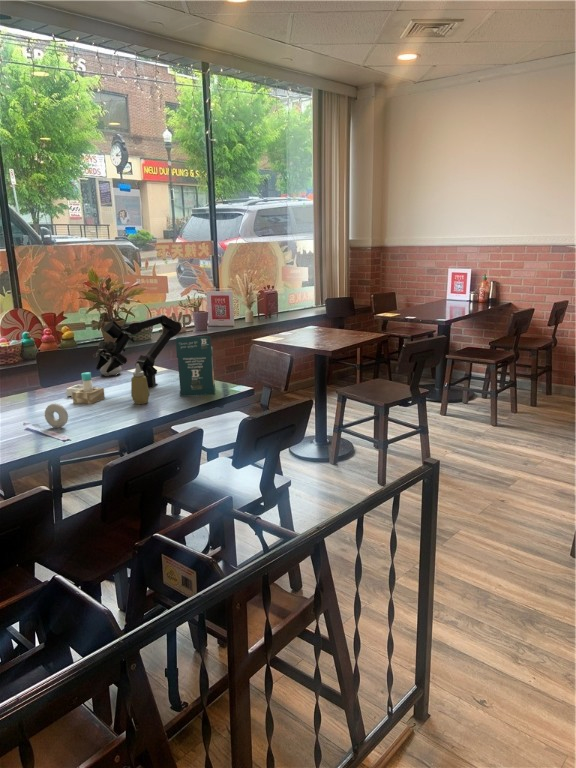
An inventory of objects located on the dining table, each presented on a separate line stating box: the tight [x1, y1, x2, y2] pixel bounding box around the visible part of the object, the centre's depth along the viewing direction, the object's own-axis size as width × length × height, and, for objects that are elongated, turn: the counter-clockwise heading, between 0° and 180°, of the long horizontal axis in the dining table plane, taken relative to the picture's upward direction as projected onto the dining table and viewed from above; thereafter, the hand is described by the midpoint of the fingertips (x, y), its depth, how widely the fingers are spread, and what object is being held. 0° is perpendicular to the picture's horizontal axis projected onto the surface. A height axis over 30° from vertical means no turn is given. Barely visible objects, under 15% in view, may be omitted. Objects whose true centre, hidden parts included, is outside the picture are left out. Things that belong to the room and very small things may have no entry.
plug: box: [81, 371, 93, 392], centre depth 260 cm, size 4×4×13 cm
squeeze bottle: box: [130, 363, 150, 405], centre depth 253 cm, size 8×8×18 cm
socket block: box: [72, 386, 106, 405], centre depth 261 cm, size 10×10×5 cm
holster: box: [65, 384, 83, 398], centre depth 272 cm, size 8×8×4 cm
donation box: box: [175, 335, 216, 397], centre depth 269 cm, size 16×16×28 cm
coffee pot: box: [94, 353, 122, 377], centre depth 308 cm, size 21×12×15 cm, turn 170°
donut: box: [44, 402, 69, 429], centre depth 222 cm, size 10×4×10 cm, turn 74°
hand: (101, 370), depth 265 cm, fingers open, 9 cm apart
